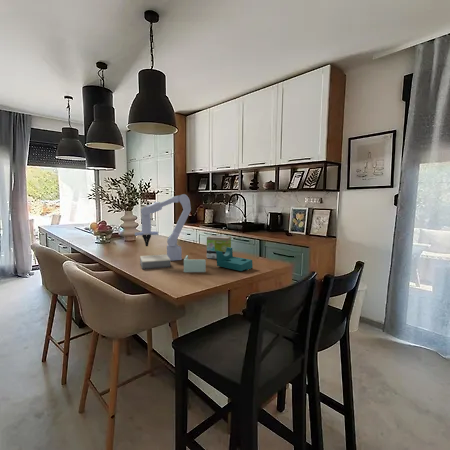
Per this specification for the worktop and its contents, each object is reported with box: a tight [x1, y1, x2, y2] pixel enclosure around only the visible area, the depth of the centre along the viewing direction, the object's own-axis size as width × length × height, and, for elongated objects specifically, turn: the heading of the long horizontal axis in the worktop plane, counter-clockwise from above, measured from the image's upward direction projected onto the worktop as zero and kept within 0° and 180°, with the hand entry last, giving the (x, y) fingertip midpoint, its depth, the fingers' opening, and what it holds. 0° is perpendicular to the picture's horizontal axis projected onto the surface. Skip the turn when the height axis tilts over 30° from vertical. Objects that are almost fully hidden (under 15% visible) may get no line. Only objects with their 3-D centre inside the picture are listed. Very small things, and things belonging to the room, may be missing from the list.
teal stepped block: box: [216, 247, 254, 272], centre depth 165 cm, size 18×11×10 cm, turn 50°
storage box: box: [139, 257, 171, 270], centre depth 170 cm, size 16×14×4 cm
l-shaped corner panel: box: [183, 255, 207, 273], centre depth 162 cm, size 12×12×8 cm
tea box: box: [206, 235, 232, 260], centre depth 193 cm, size 15×10×15 cm
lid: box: [139, 253, 170, 262], centre depth 170 cm, size 16×14×1 cm
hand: (146, 246), depth 184 cm, fingers closed
